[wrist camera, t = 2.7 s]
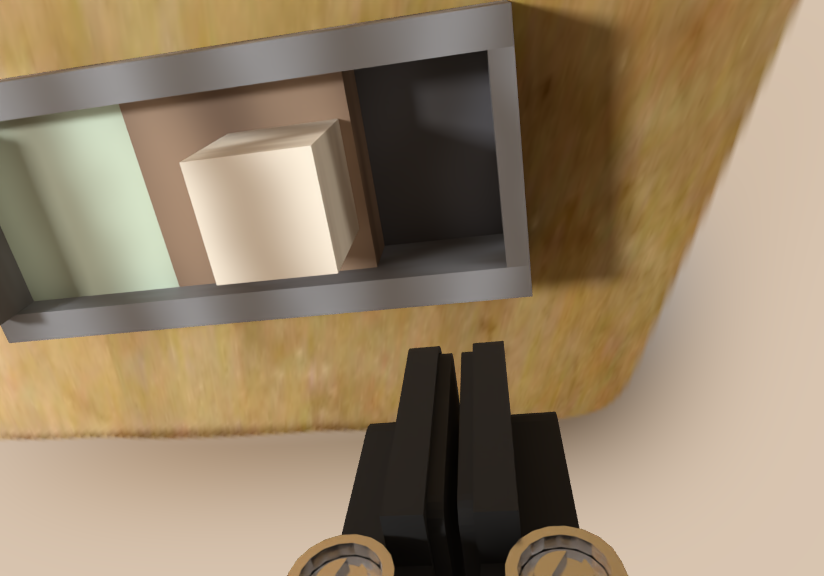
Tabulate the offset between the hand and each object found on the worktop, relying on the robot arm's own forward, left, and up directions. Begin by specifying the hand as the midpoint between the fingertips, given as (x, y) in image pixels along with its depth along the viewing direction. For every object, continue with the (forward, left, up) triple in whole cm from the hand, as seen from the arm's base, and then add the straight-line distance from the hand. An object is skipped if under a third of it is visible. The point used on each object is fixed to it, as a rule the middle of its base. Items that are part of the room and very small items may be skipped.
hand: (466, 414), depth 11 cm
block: (+8, 0, -18) cm, 19 cm away
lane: (+11, 0, -21) cm, 23 cm away
